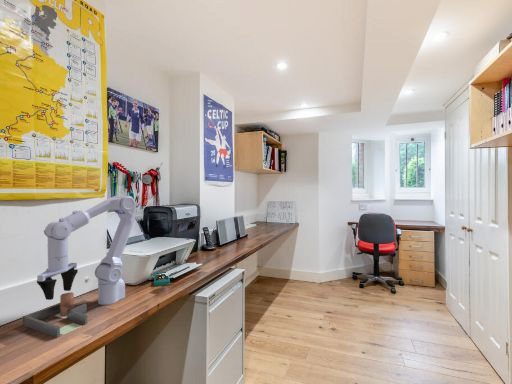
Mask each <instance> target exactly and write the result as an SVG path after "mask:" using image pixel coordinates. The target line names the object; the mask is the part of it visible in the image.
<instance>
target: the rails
mask: <svg viewBox="0 0 512 384" xmlns="http://www.w3.org/2000/svg"><path fill="white" fill-rule="evenodd" d="M87 307H88V305H87V303H83V304H80V305H78V306H74V308H73V309H70V310H68V311H67V318H66V319H67V320H69V321H72V322H75V323H79V324H80V325H81V324H82V325H87V324H89V323H88V314H85V313H87V311H88V308H87ZM59 313H61V311H60V303H57V304H56V303H55V304H53V305H51V306H48V307H45V308H43V309H40V310H37V311H34V312H31V313H29V314H26V315H24V316H22V326H24V327H26V328H30V329H32V330H34V331H37V332H40V333H43V334H46V335H48V336H51V337H53V338H54V337H55V338H56V339H58V338H60V337H61V334H60V328H61V327H60V326H57V325H55V324H52V323H50V322H46V321H43V319H46V318H48V317H50V316H54V315H57V314H59Z"/></svg>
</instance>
